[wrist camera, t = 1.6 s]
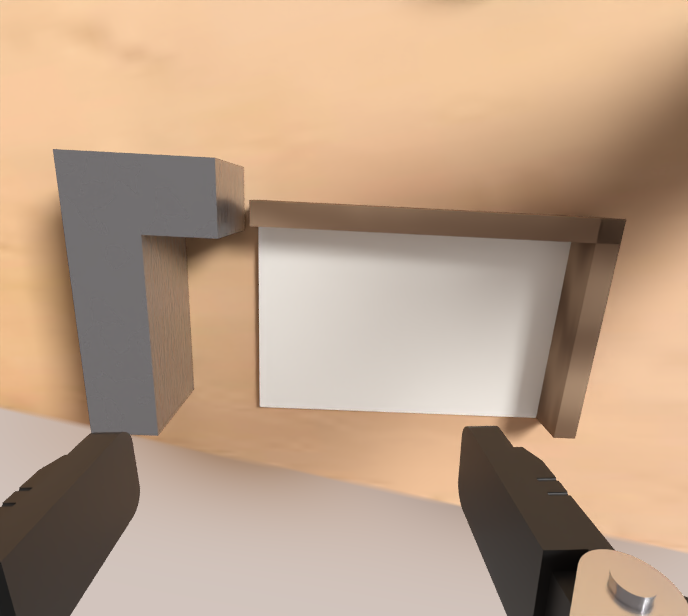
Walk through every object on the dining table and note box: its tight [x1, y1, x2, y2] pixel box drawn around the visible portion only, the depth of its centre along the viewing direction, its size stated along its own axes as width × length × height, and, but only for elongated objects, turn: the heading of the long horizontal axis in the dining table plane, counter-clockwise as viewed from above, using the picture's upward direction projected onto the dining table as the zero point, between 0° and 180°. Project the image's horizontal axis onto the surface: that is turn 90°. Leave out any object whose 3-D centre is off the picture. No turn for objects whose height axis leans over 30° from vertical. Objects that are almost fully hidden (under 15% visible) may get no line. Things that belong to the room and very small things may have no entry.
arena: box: [249, 200, 626, 438], centre depth 27 cm, size 15×22×3 cm, turn 87°
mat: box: [258, 227, 571, 418], centre depth 28 cm, size 14×21×1 cm, turn 87°
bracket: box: [53, 149, 245, 436], centre depth 25 cm, size 16×8×6 cm, turn 177°
